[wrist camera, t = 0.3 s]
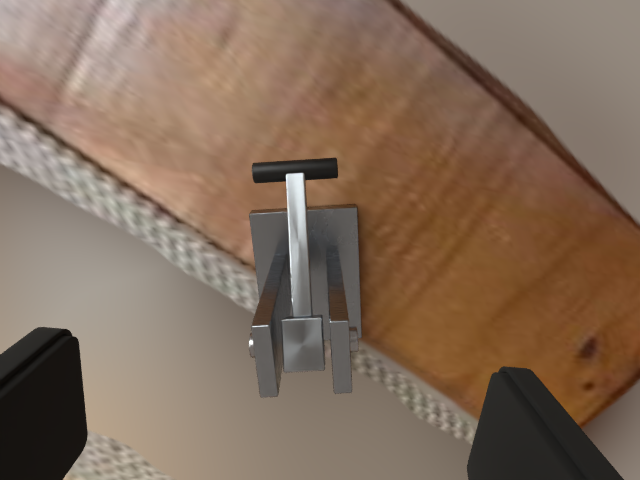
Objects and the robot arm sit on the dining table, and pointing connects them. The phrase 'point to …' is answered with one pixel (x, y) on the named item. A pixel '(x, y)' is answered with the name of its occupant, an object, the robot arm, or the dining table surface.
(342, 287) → the press bracket
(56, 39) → the dining table surface
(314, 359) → the press lever
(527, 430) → the robot arm
